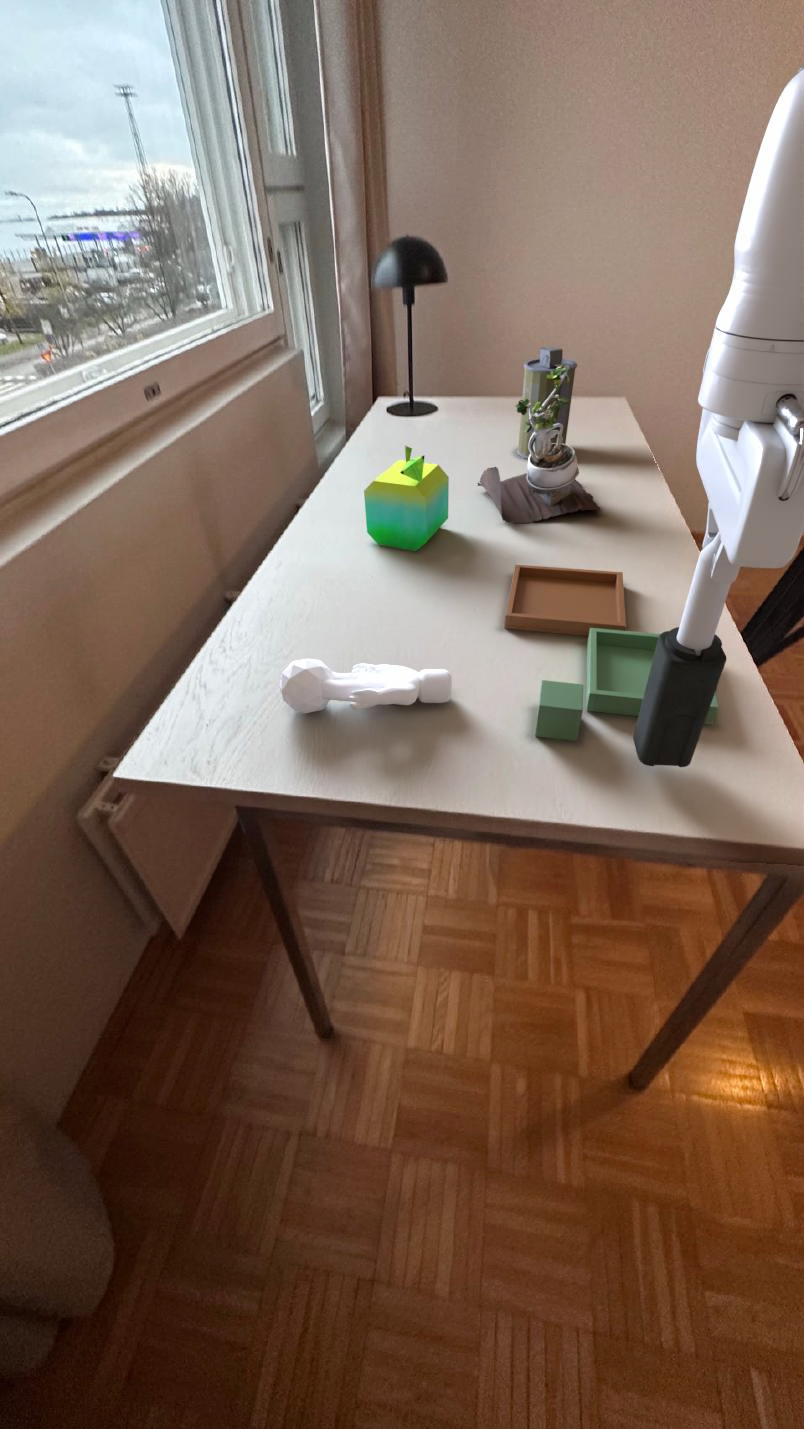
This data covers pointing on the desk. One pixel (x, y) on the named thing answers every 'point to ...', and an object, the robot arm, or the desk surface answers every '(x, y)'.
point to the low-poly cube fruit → (407, 503)
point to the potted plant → (541, 469)
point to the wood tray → (565, 600)
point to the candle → (684, 674)
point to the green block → (559, 710)
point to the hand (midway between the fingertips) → (717, 565)
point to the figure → (361, 685)
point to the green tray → (622, 671)
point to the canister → (545, 392)
